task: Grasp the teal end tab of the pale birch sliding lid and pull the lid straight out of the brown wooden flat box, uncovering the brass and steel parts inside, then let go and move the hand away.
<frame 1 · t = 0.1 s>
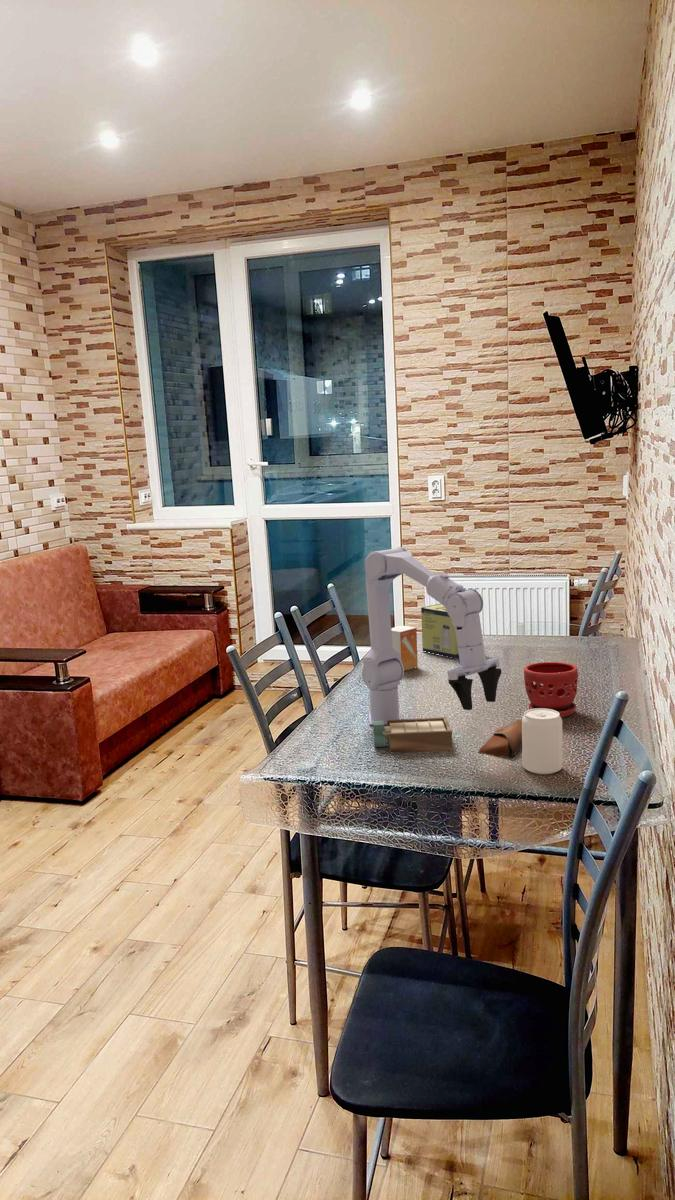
hand: (479, 705, 177), 11 cm above the table, tool pointing down, fingers open, 7 cm apart
beverage can: (542, 769, 167), on the table
brown wooden flat box: (419, 743, 185), on the table
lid: (409, 732, 185), point 3 cm above the table, slide at 0.0 cm
protein box: (449, 653, 269), on the table
sunglasses case: (506, 745, 183), on the table
plant pot: (550, 713, 203), on the table
small box: (402, 669, 251), on the table
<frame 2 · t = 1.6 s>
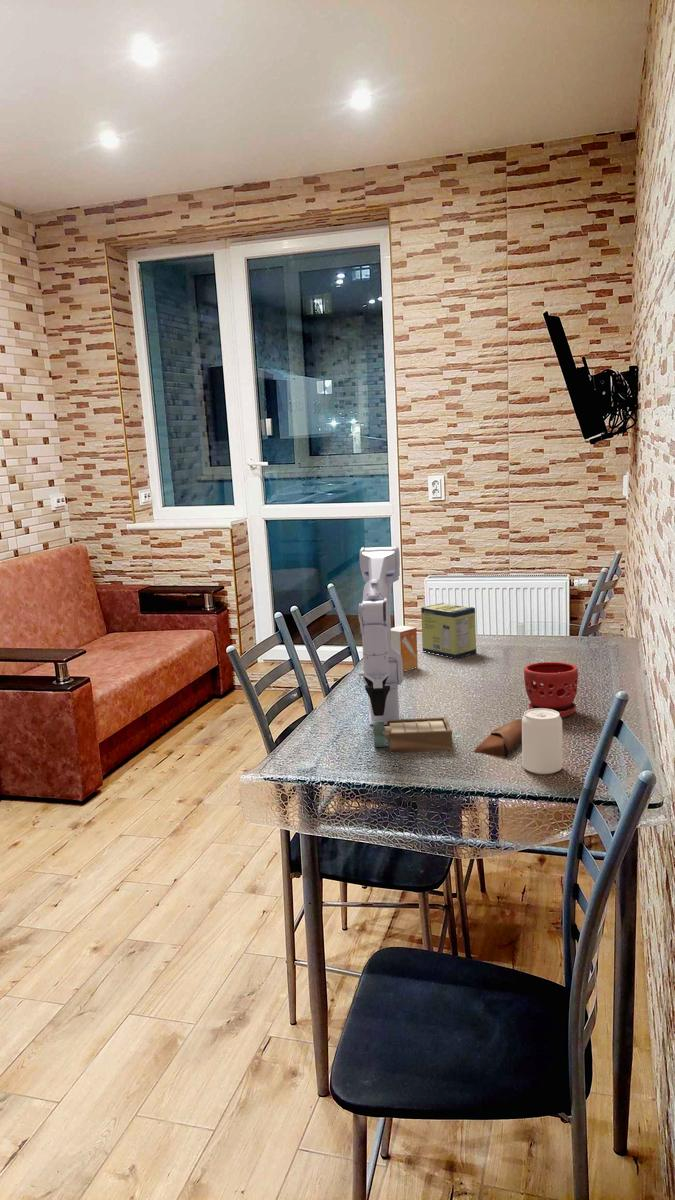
hand: (378, 710, 184), 9 cm above the table, tool pointing down, fingers open, 7 cm apart
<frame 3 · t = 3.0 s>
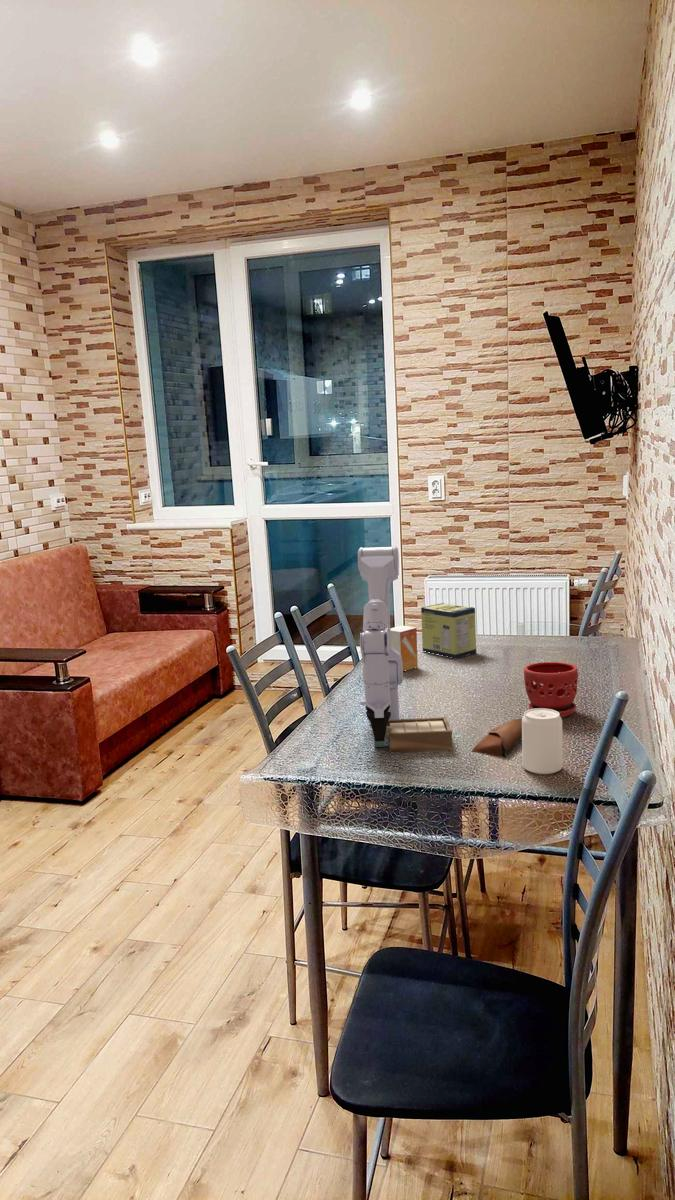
hand: (379, 738, 185), 2 cm above the table, tool pointing down, fingers closed on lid, 3 cm apart
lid: (409, 732, 185), point 3 cm above the table, slide at 0.0 cm, touching gripper
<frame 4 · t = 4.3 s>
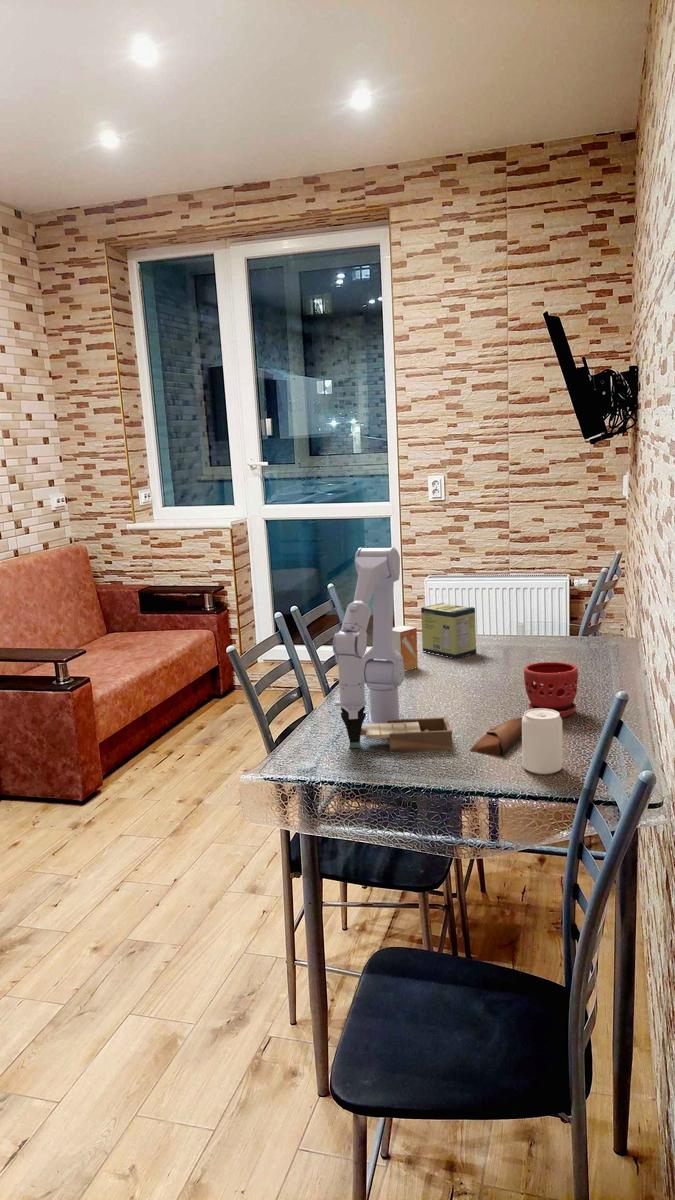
hand: (354, 739, 185), 2 cm above the table, tool pointing down, fingers closed on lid, 3 cm apart
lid: (384, 733, 185), point 3 cm above the table, slide at 5.7 cm, touching gripper
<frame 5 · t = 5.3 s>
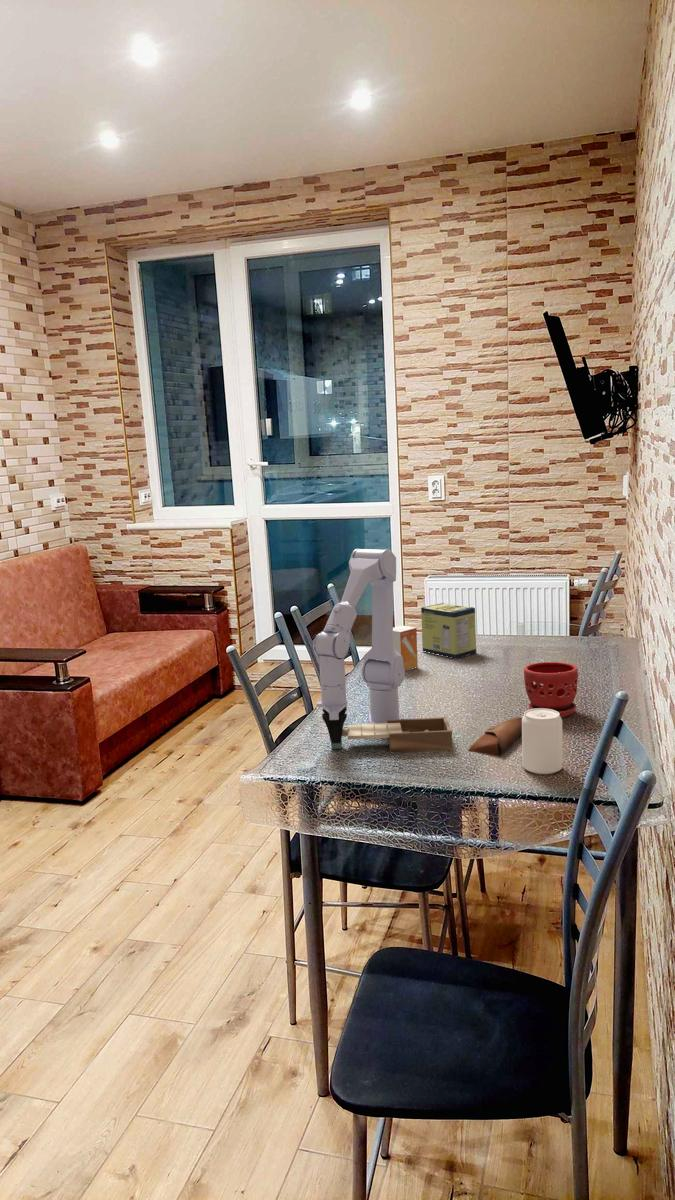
hand: (336, 740, 185), 2 cm above the table, tool pointing down, fingers closed on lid, 3 cm apart
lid: (366, 734, 185), point 3 cm above the table, slide at 9.9 cm, touching gripper
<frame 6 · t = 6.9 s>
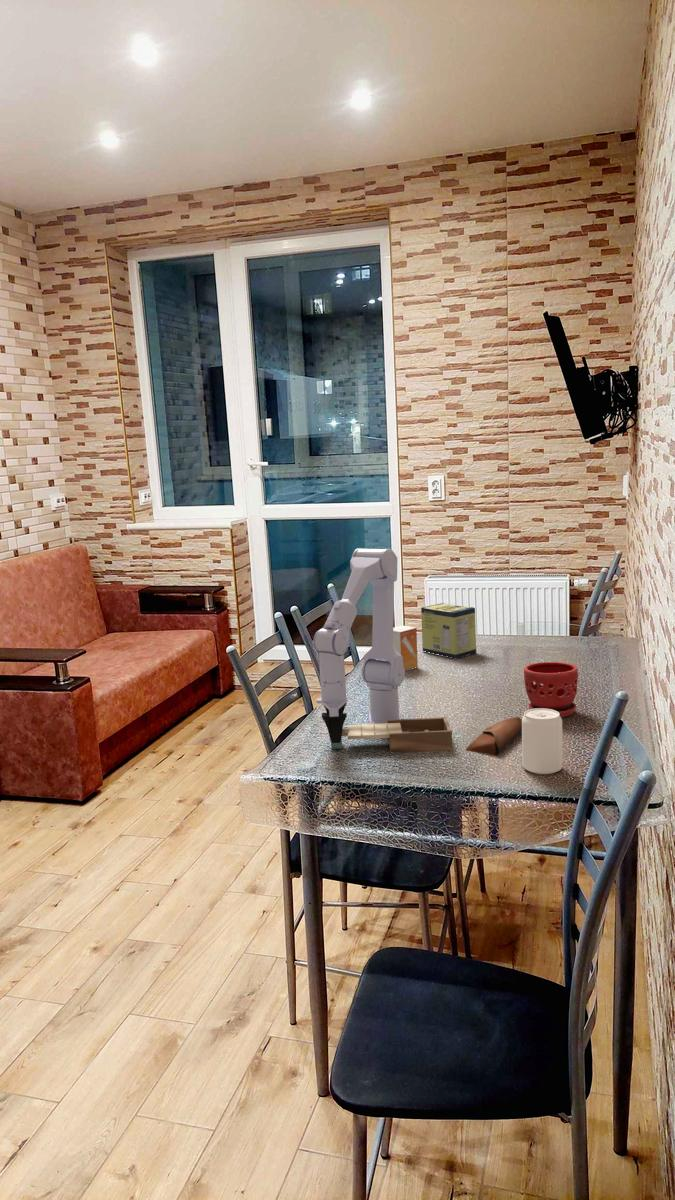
hand: (336, 736, 185), 3 cm above the table, tool pointing down, fingers open, 7 cm apart
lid: (366, 734, 185), point 3 cm above the table, slide at 9.9 cm
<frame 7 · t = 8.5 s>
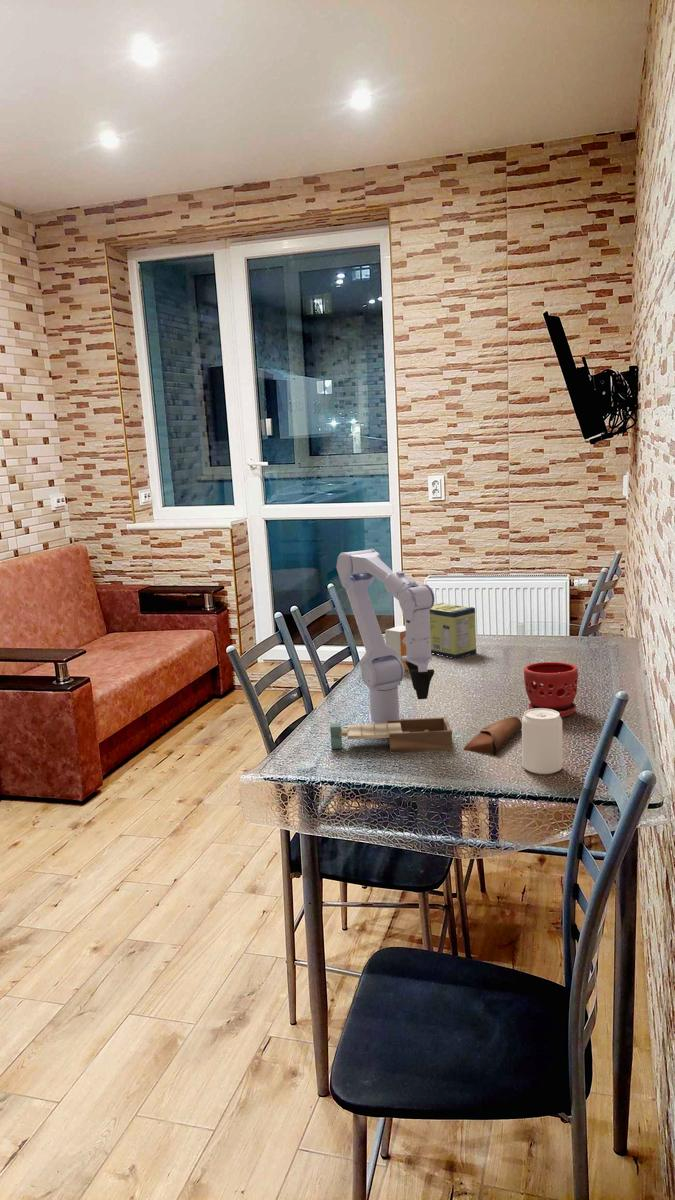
hand: (420, 694, 188), 10 cm above the table, tool pointing down, fingers open, 7 cm apart
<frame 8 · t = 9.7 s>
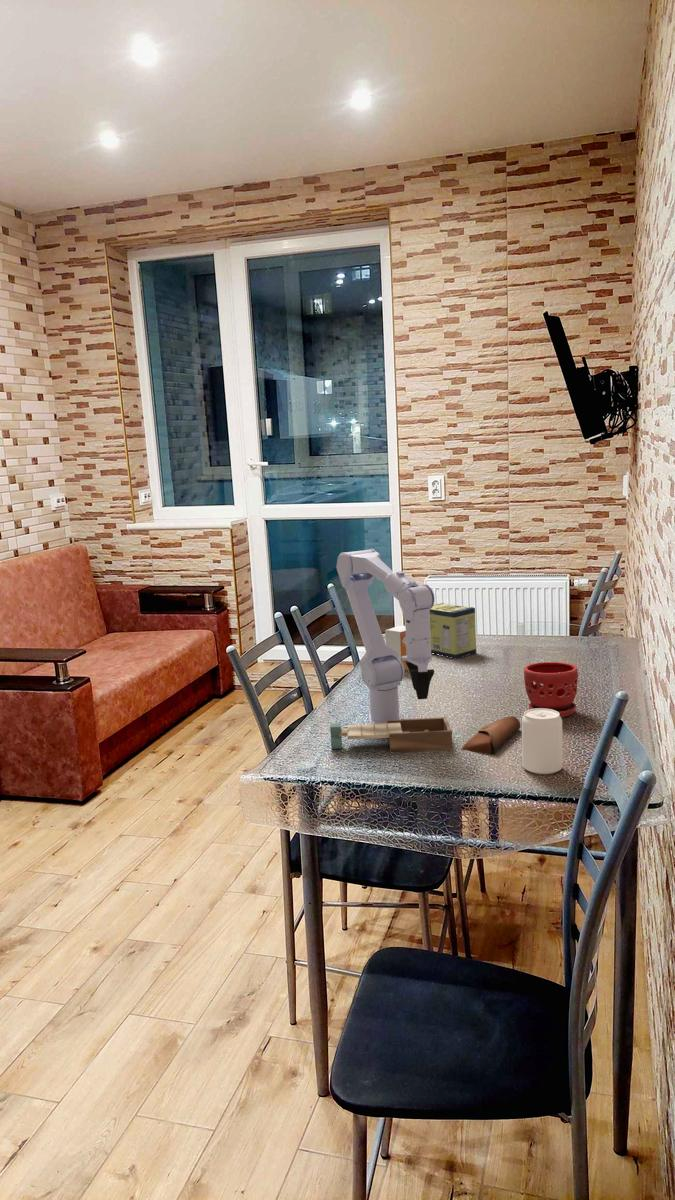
hand: (420, 694, 188), 10 cm above the table, tool pointing down, fingers open, 7 cm apart
at the end: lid slide at 9.9 cm; the gripper is holding nothing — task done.
